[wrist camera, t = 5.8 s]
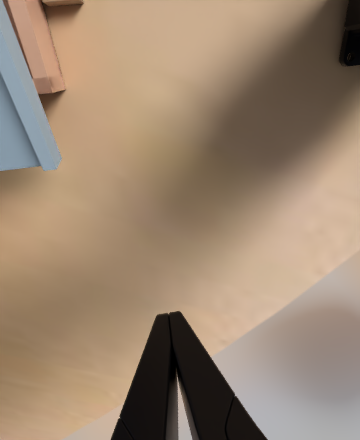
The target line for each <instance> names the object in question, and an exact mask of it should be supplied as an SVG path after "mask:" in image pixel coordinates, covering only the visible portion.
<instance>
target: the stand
mask: <svg viewBox="0 0 360 440" xmlns="http://www.w3.org/2000/svg"><path fill="white" fill-rule="evenodd" d="M42 1H43V3H45V4H46V5H48V6H60V5H72V4H83V0H42Z"/></svg>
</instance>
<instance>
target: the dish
mask: <svg viewBox="0 0 360 440" xmlns="http://www.w3.org/2000/svg"><path fill="white" fill-rule="evenodd" d="M3 3H4V6H5V8H6V11H7V14H8V16H9V19H10V22H11V24H12V27H13V30H14V32H15V35H16V38H17V40H18V43H19V46H20V48H21V51H22V54H23V56H24V59H25V62H26V64H27V67H28V70H29V72H30V75H31V78H32V80H33V83H34V85H35V88H36V91H37V93H38V94H46V93H54V92H58V91H61V90H65V89H66V87H65V84H64V80H63V77H62V73H61V69H60V66H59V62H58V58H57V55H56V51H55V48H54V44H53V40H52V37H51V33H50V30H49V26H48V22H47V19H46V15H45V11H44V8H43V4H42V1H41V0H3Z"/></svg>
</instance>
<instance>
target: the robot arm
mask: <svg viewBox="0 0 360 440" xmlns="http://www.w3.org/2000/svg"><path fill="white" fill-rule="evenodd" d="M349 53H350V54H351V57H350V59H349V60H347V57H348V54H349ZM339 62H340V64H341V65H342V66H354V65H360V0H349V4H348V10H347V15H346V21H345V31H344V36H343V42H342V47H341V52H340V58H339ZM177 377H178V382H179V386H180V390H181V395H182V398H183V403H184V407H185V411H186V415H187V419H188V423H189V427H190V431H191V435H192V439H193V440H268V439H267V438H266V437H265V436H264V434H263V433H262V432H261V430H260V429H259V428H258V427H257V426H256V424H255V422H254V421H253V420H252V418H251V417H250V415H249V414H248V413H247V411H246V410H245V408H244V407H243V405H242V404H241V402H240V401H239V399H238V398H237V397H236V396H235V393H234V392H233V390H232V389H231V387H230V386H229V385H228V383H227V381H226V380H225V378H224V377H223V375H222V374H221V372H220V371H219V370H218V368H217V366H216V365H215V363H214V362H213V360H212V358H211V357H210V355H209V354H208V352H207V351H206V349H205V348H204V346H203V345H202V343H201V342H200V340H199V339H198V337H197V336H196V334H195V333H194V331H193V330H192V328H191V327H190V325H189V324H188V322H187V321H186V319H185V318H184V316H183V315H182V313H181V312H180V311H176V312H170V313H169V314H168V313H164V314H158V315H157V316H156V318H155V321H154V324H153V326H152V329H151V332H150V335H149V337H148V340H147V343H146V345H145V348H144V351H143V354H142V356H141V359H140V362H139V364H138V367H137V370H136V373H135V375H134V378H133V381H132V383H131V386H130V389H129V392H128V394H127V397H126V400H125V403H124V405H123V408H122V411H121V414H120V418H119V419H118V422H117V424H116V427H115V429H114V432H113V435H112V437H111V440H178V391H177V390H178V387H177Z"/></svg>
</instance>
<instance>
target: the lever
mask: <svg viewBox="0 0 360 440" xmlns="http://www.w3.org/2000/svg"><path fill="white" fill-rule="evenodd" d="M61 159H62V157H61V155H60V152H59V149H58V147H57V144H56V141H55V139H54V136H53V133H52V131H51V128H50V125H49V123H48V120H47V117H46V115H45V112H44V109H43V107H42V104H41V101H40V99H39V96H38V93H37V91H36V88H35V85H34V83H33V80H32V78H31V75H30V72H29V70H28V67H27V64H26V62H25V59H24V56H23V54H22V51H21V48H20V46H19V43H18V40H17V38H16V35H15V32H14V30H13V27H12V24H11V22H10V19H9V16H8V14H7V11H6V8H5V6H4V3H3V0H0V171H4V170H12V169H20V168H28V167H36V166H42V168H43V171H46V170H54V169H57V167H58V165H59V163H60V161H61Z"/></svg>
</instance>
